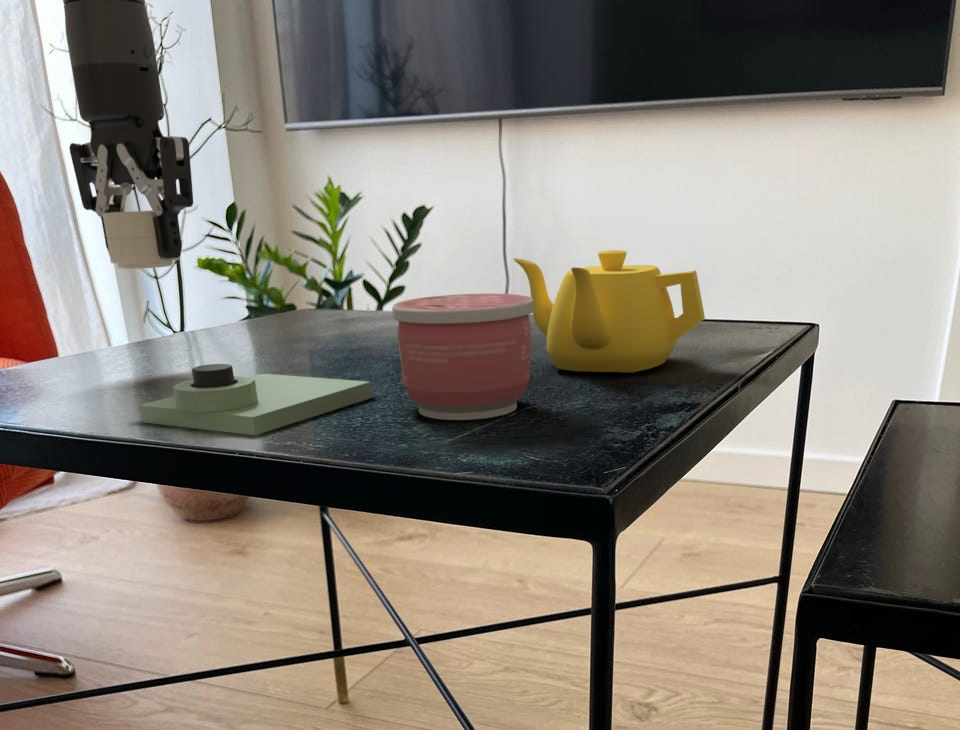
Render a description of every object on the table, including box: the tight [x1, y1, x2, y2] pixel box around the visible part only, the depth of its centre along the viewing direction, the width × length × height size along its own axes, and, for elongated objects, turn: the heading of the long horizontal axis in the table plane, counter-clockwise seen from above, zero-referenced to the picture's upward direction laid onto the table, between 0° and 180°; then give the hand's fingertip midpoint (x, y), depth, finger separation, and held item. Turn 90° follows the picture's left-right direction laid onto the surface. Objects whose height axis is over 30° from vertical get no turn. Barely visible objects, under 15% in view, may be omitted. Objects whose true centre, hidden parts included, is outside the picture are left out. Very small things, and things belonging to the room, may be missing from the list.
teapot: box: [512, 249, 706, 374], centre depth 91 cm, size 14×13×10 cm
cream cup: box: [102, 209, 180, 270], centre depth 99 cm, size 6×6×5 cm
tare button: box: [191, 363, 235, 388], centre depth 77 cm, size 3×3×2 cm
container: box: [391, 293, 534, 421], centre depth 77 cm, size 10×10×8 cm
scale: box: [138, 373, 373, 436], centre depth 81 cm, size 14×12×3 cm
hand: (145, 257), depth 99 cm, fingers closed on cream cup, 6 cm apart
